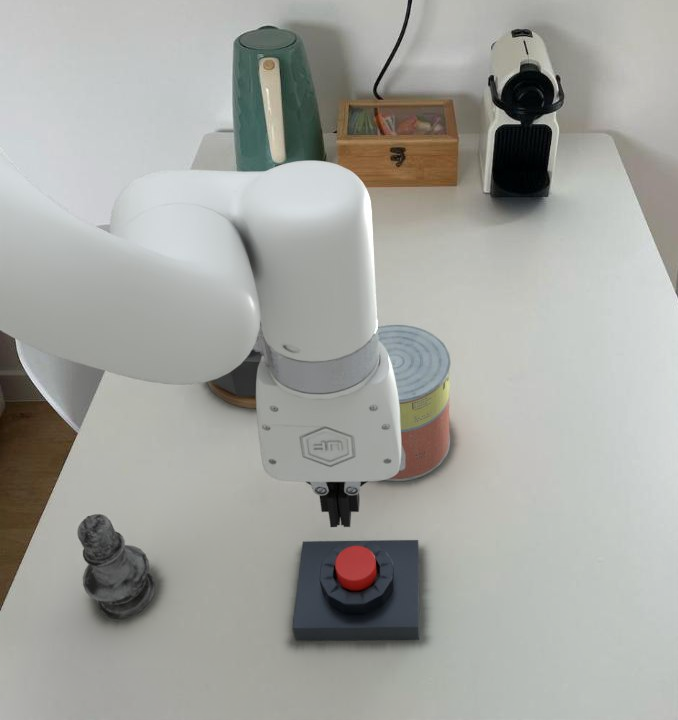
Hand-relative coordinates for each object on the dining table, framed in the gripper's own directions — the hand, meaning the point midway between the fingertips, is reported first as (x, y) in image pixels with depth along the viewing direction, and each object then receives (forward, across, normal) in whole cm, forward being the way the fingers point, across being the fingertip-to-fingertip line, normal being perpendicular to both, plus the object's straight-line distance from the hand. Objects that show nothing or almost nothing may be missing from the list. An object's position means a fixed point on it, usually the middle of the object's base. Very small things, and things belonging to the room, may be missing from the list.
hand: (341, 512), depth 67 cm
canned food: (+13, +4, +19) cm, 23 cm away
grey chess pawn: (+13, -21, +1) cm, 25 cm away
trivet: (+13, -12, +32) cm, 36 cm away
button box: (+13, +1, 0) cm, 13 cm away
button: (+9, +1, 0) cm, 9 cm away
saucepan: (+12, -11, +30) cm, 35 cm away
